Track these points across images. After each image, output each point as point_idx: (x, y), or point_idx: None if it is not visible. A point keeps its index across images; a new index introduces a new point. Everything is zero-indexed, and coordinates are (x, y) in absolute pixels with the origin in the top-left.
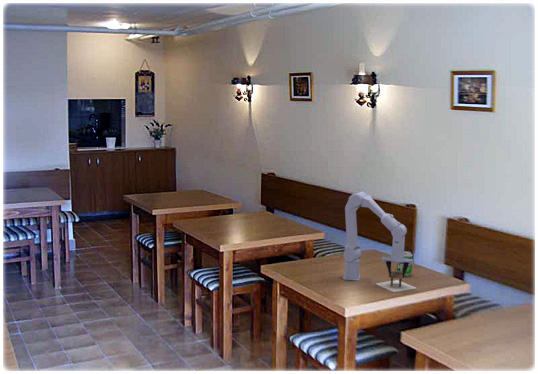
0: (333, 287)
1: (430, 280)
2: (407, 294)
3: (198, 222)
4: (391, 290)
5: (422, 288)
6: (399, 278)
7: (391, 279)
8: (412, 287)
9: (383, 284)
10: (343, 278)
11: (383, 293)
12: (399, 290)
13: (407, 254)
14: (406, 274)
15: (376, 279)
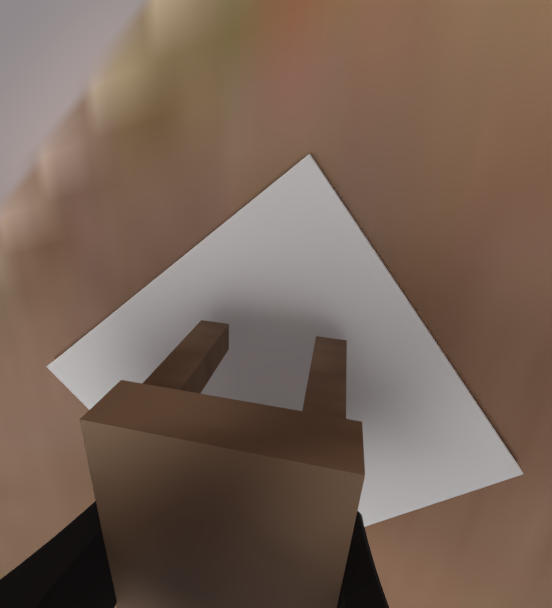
0: None
1: (6, 563)
2: (119, 116)
3: None
4: (342, 206)
5: (10, 383)
6: (172, 391)
7: (335, 402)
8: (88, 375)
9: (419, 443)
10: None
11: (499, 57)
12: (225, 233)
13: None
14: None
15: (455, 595)
